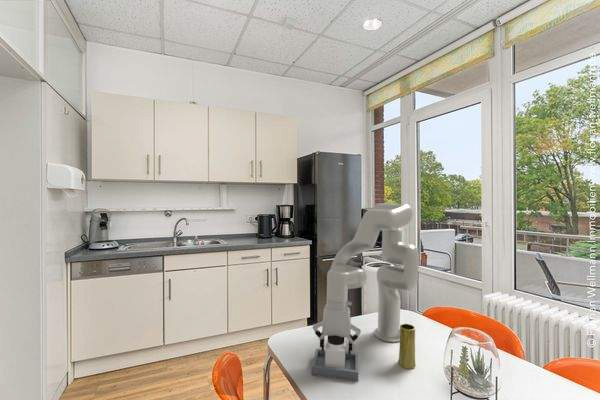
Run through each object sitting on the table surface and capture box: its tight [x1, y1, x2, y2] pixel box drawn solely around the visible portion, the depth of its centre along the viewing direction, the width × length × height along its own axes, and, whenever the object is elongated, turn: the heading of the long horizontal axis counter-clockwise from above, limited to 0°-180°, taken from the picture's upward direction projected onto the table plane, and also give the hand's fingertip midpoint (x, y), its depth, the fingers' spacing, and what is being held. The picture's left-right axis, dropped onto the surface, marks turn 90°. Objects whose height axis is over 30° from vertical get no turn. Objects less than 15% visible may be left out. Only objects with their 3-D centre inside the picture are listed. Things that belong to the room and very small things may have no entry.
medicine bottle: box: [324, 336, 347, 369], centre depth 105 cm, size 7×7×12 cm
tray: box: [311, 348, 360, 382], centre depth 105 cm, size 16×12×3 cm
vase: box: [397, 323, 416, 370], centre depth 108 cm, size 6×6×14 cm
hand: (336, 350), depth 105 cm, fingers open, 9 cm apart
